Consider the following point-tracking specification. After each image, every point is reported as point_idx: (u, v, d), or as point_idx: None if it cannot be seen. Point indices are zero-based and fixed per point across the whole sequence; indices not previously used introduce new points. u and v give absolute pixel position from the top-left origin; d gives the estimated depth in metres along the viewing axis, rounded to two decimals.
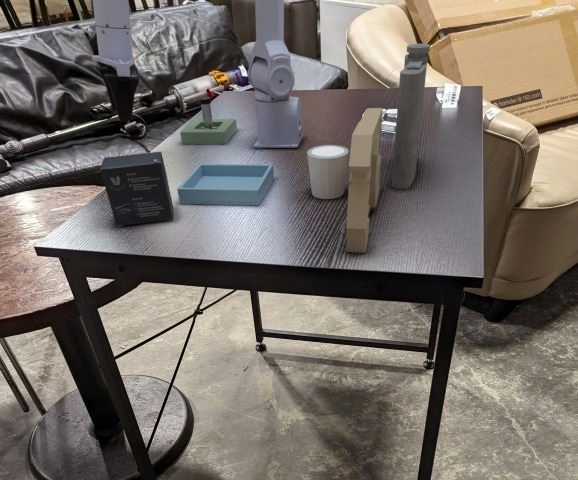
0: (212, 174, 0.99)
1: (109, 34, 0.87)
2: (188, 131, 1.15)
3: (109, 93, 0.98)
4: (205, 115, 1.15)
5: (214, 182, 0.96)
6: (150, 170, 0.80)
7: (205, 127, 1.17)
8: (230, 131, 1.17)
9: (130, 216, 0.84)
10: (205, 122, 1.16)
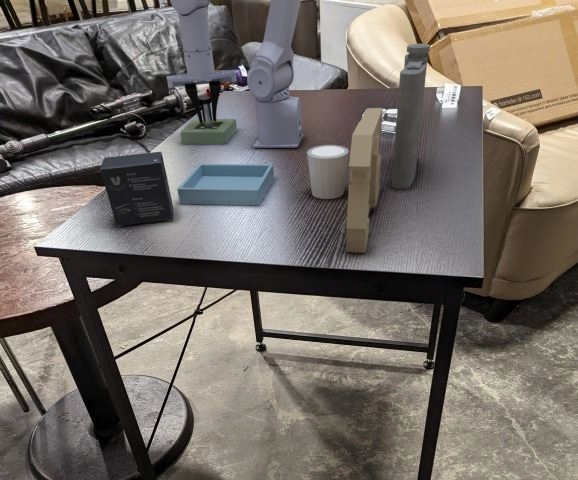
0: (212, 174, 0.99)
1: None
2: (188, 131, 1.15)
3: None
4: (205, 115, 1.15)
5: (214, 182, 0.96)
6: (150, 170, 0.80)
7: (205, 127, 1.17)
8: (230, 131, 1.17)
9: (130, 216, 0.84)
10: (205, 122, 1.16)
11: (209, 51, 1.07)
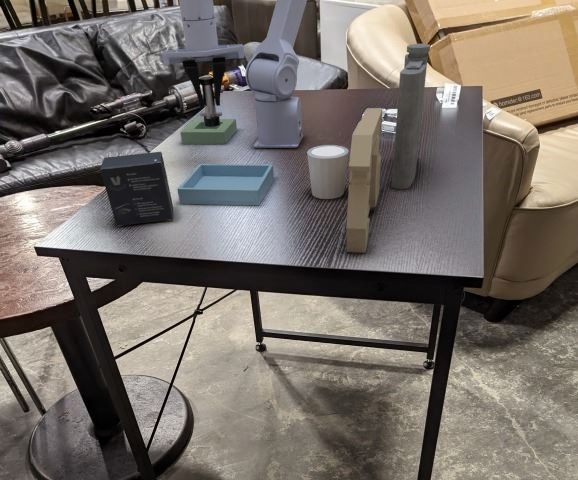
0: (212, 174, 0.99)
1: None
2: (188, 131, 1.15)
3: (214, 85, 0.99)
4: (207, 98, 0.98)
5: (214, 182, 0.96)
6: (150, 170, 0.80)
7: (207, 113, 1.00)
8: (230, 131, 1.17)
9: (130, 216, 0.84)
10: (207, 107, 0.99)
11: (212, 20, 0.90)
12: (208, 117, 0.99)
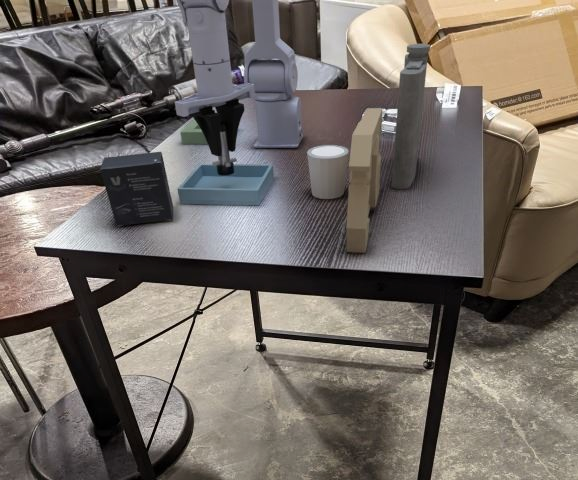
0: (212, 174, 0.99)
1: (194, 70, 0.81)
2: (188, 131, 1.15)
3: None
4: (223, 145, 0.88)
5: (214, 182, 0.96)
6: (150, 170, 0.80)
7: (222, 161, 0.90)
8: None
9: (130, 216, 0.84)
10: (223, 154, 0.89)
11: None
12: (228, 165, 0.90)
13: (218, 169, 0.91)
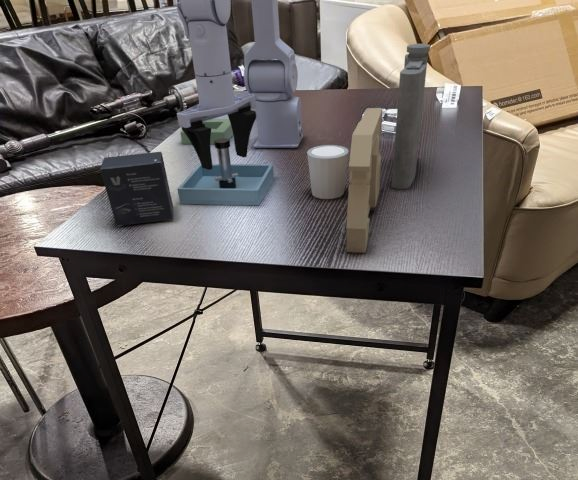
0: (212, 174, 0.99)
1: (196, 81, 0.82)
2: None
3: (234, 137, 0.92)
4: (225, 161, 0.90)
5: (214, 182, 0.96)
6: (150, 170, 0.80)
7: (224, 176, 0.92)
8: (230, 131, 1.17)
9: (130, 216, 0.84)
10: (225, 170, 0.91)
11: (231, 73, 0.82)
12: (230, 181, 0.91)
13: (220, 184, 0.93)
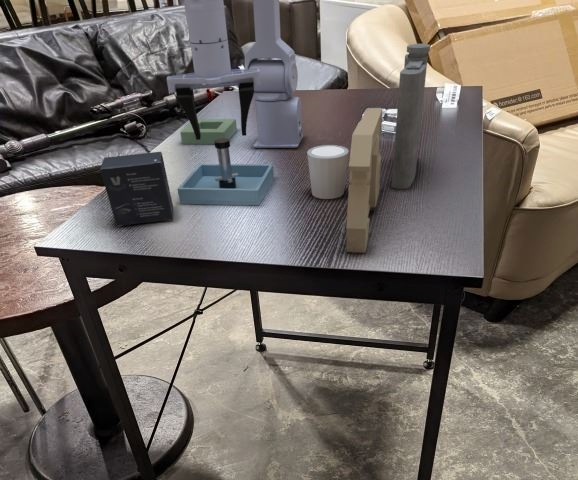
0: (212, 174, 0.99)
1: (226, 47, 0.79)
2: (188, 131, 1.15)
3: (196, 121, 0.85)
4: (225, 161, 0.90)
5: (214, 182, 0.96)
6: (150, 170, 0.80)
7: (224, 176, 0.92)
8: (230, 131, 1.17)
9: (130, 216, 0.84)
10: (225, 170, 0.91)
11: None
12: (230, 181, 0.91)
13: (220, 184, 0.93)
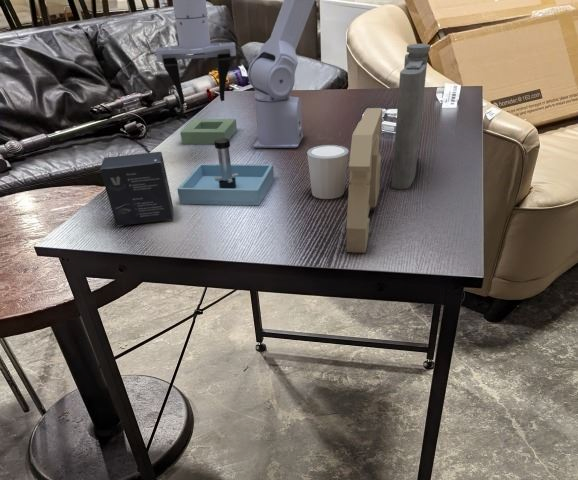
0: (212, 174, 0.99)
1: (207, 22, 0.93)
2: (188, 131, 1.15)
3: (181, 87, 0.99)
4: (225, 161, 0.90)
5: (214, 182, 0.96)
6: (150, 170, 0.80)
7: (224, 176, 0.92)
8: (230, 131, 1.17)
9: (130, 216, 0.84)
10: (225, 170, 0.91)
11: None
12: (230, 181, 0.91)
13: (220, 184, 0.93)
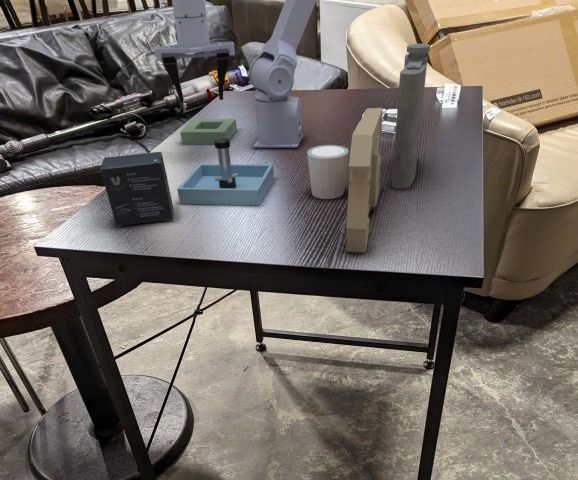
0: (212, 174, 0.99)
1: (206, 22, 0.94)
2: (188, 131, 1.15)
3: (180, 86, 1.00)
4: (225, 161, 0.90)
5: (214, 182, 0.96)
6: (150, 170, 0.80)
7: (224, 176, 0.92)
8: (230, 131, 1.17)
9: (130, 216, 0.84)
10: (225, 170, 0.91)
11: None
12: (230, 181, 0.91)
13: (220, 184, 0.93)
